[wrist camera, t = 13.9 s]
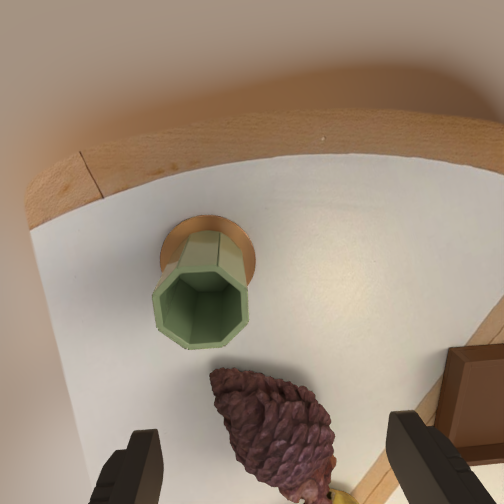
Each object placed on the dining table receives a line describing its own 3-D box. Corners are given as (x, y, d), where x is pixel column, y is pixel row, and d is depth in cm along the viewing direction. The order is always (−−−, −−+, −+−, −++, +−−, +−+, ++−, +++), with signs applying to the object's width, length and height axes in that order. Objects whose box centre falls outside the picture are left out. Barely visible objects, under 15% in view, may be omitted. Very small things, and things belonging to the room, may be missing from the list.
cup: (240, 228, 30) (246, 262, 21) (243, 291, 32) (250, 345, 23) (170, 232, 29) (147, 268, 21) (178, 295, 31) (160, 352, 23)
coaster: (253, 212, 30) (254, 213, 29) (256, 299, 33) (257, 302, 32) (155, 217, 29) (153, 218, 29) (167, 305, 32) (166, 308, 32)
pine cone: (179, 397, 36) (183, 421, 26) (239, 330, 39) (261, 330, 30) (292, 507, 36) (335, 570, 27) (342, 431, 39) (396, 463, 30)
